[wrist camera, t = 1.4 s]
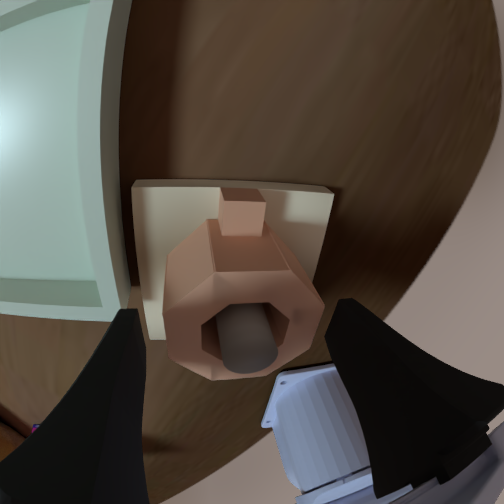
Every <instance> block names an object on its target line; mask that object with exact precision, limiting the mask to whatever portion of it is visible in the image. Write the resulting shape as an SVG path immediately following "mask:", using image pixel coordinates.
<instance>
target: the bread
mask: <svg viewBox="0 0 504 504" xmlns="http://www.w3.org/2000/svg"><path fill="white" fill-rule="evenodd" d="M24 440H25V438H24V437H23V436H22V435H20V434H19V433H18V432H16V431H15V430H13V429H12V428H10V427H9V426H7V425H5V424H4V423H2V422H0V462H1V461H2V460H3V459H4V458H5V457H7V456H8V455H9V454H10V453H11V452H13V451H14V450H15V449H16V448H17V447H18V446H19V445H20V444H22V442H23V441H24Z"/></svg>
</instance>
